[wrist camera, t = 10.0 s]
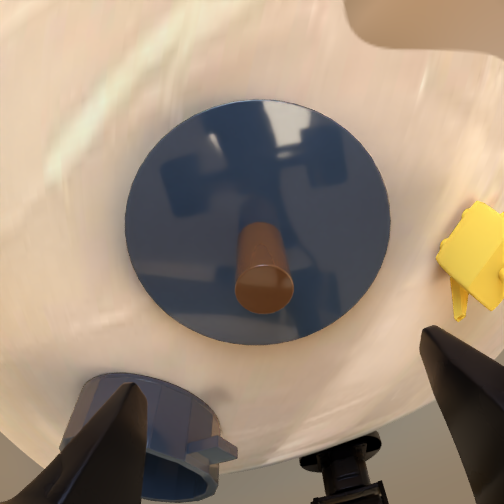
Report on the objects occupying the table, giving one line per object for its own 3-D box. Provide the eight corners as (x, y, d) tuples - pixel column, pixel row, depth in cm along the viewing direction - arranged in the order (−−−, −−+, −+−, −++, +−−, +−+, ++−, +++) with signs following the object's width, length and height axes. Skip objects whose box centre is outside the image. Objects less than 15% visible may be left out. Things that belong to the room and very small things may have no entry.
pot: (272, 426, 27) (277, 486, 21) (135, 461, 31) (127, 505, 25) (173, 339, 21) (155, 414, 16) (46, 398, 26) (25, 446, 20)
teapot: (453, 304, 21) (486, 348, 16) (410, 272, 19) (447, 321, 15) (514, 223, 18) (558, 255, 13) (479, 177, 16) (532, 205, 12)
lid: (413, 266, 19) (454, 318, 14) (226, 362, 22) (223, 426, 17) (305, 48, 13) (335, 26, 8) (84, 202, 17) (33, 244, 12)
